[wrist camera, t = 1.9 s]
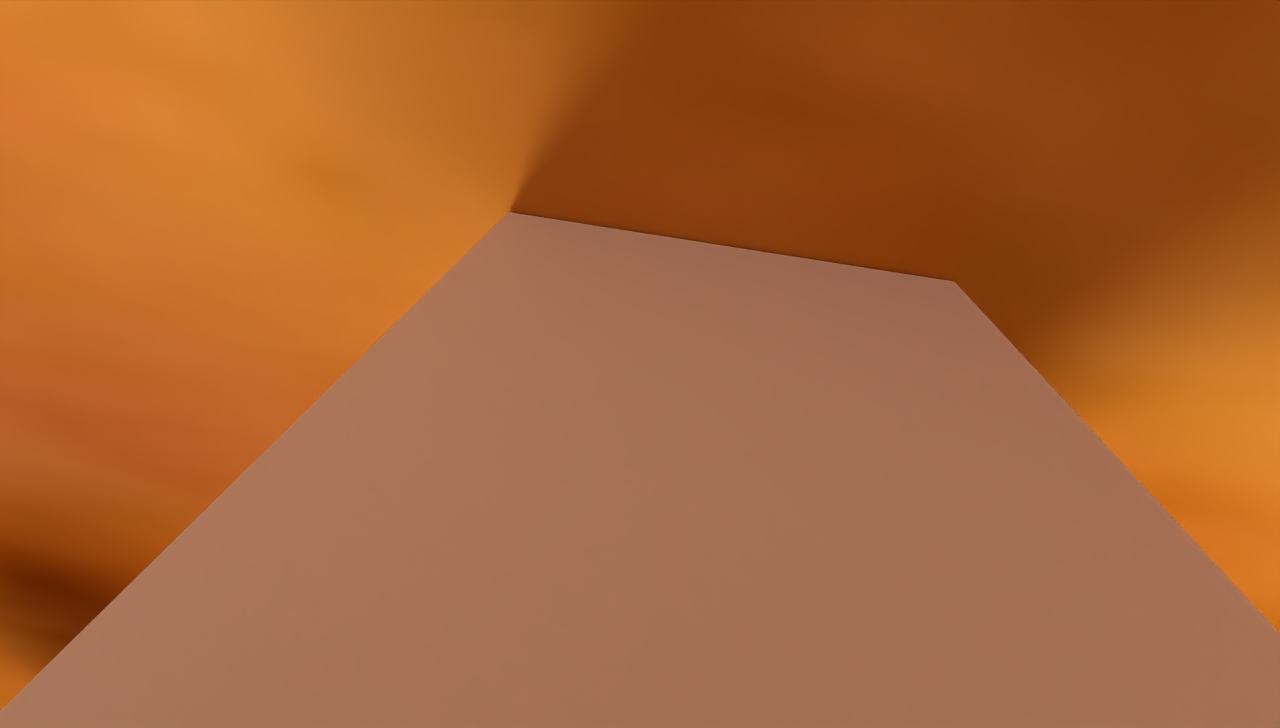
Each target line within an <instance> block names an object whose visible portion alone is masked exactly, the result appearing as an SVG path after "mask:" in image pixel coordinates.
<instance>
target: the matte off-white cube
mask: <svg viewBox="0 0 1280 728" xmlns="http://www.w3.org/2000/svg"><path fill="white" fill-rule="evenodd" d="M0 728H1280V633H1279V632H1278V631H1277V630H1276V629H1275V628H1274V627H1273V626H1272V625H1271V623H1270V622H1269V621H1268V620H1267V619H1266V618H1265V617H1264V616H1263V615H1262V614H1261V613H1260V612H1259V610H1258V609H1257V608H1256V607H1255V606H1254V605H1253V604H1252V603H1251V602H1250V601H1249V600H1248V599H1247V597H1246V596H1245V595H1244V594H1243V593H1242V592H1241V591H1240V590H1239V589H1238V588H1237V587H1236V586H1235V585H1234V583H1233V582H1232V581H1231V580H1230V579H1229V578H1228V577H1227V576H1226V575H1225V574H1224V573H1223V572H1222V570H1221V569H1220V568H1219V567H1218V566H1217V565H1216V564H1215V563H1214V562H1213V561H1212V560H1211V559H1210V557H1209V556H1208V555H1207V554H1206V553H1205V552H1204V551H1203V550H1202V549H1201V548H1200V547H1199V546H1198V544H1197V543H1196V542H1195V541H1194V540H1193V539H1192V538H1191V537H1190V536H1189V535H1188V534H1187V533H1186V531H1185V530H1184V529H1183V528H1182V527H1181V526H1180V525H1179V524H1178V523H1177V522H1176V521H1175V520H1174V518H1173V517H1172V516H1171V515H1170V514H1169V513H1168V512H1167V511H1166V510H1165V509H1164V508H1163V507H1162V506H1161V504H1160V503H1159V502H1158V501H1157V500H1156V499H1155V498H1154V497H1153V496H1152V495H1151V494H1150V493H1149V491H1148V490H1147V489H1146V488H1145V487H1144V486H1143V485H1142V484H1141V483H1140V482H1139V481H1138V480H1137V478H1136V477H1135V476H1134V475H1133V474H1132V473H1131V472H1130V471H1129V470H1128V469H1127V468H1126V467H1125V465H1124V464H1123V463H1122V462H1121V461H1120V460H1119V459H1118V458H1117V457H1116V456H1115V455H1114V454H1113V452H1112V451H1111V450H1110V449H1109V448H1108V447H1107V446H1106V445H1105V444H1104V443H1103V442H1102V441H1101V439H1100V438H1099V437H1098V436H1097V435H1096V434H1095V433H1094V432H1093V431H1092V430H1091V429H1090V428H1089V426H1088V425H1087V424H1086V423H1085V422H1084V421H1083V420H1082V419H1081V418H1080V417H1079V416H1078V415H1077V414H1076V412H1075V411H1074V410H1073V409H1072V408H1071V407H1070V406H1069V405H1068V404H1067V403H1066V402H1065V401H1064V399H1063V398H1062V397H1061V396H1060V395H1059V394H1058V393H1057V392H1056V391H1055V390H1054V389H1053V388H1052V386H1051V385H1050V384H1049V383H1048V382H1047V381H1046V380H1045V379H1044V378H1043V377H1042V376H1041V375H1040V373H1039V372H1038V371H1037V370H1036V369H1035V368H1034V367H1033V366H1032V365H1031V364H1030V363H1029V362H1028V360H1027V359H1026V358H1025V357H1024V356H1023V355H1022V354H1021V353H1020V352H1019V351H1018V350H1017V349H1016V347H1015V346H1014V345H1013V344H1012V343H1011V342H1010V341H1009V340H1008V339H1007V338H1006V337H1005V336H1004V335H1003V333H1002V332H1001V331H1000V330H999V329H998V328H997V327H996V326H995V325H994V324H993V323H992V322H991V320H990V319H989V318H988V317H987V316H986V315H985V314H984V313H983V312H982V311H981V310H980V309H979V307H978V306H977V305H976V304H975V303H974V302H973V301H972V300H971V299H970V298H969V297H968V296H967V294H966V293H965V292H964V291H963V290H962V289H961V288H960V287H959V286H958V285H957V284H956V283H955V282H954V281H948V280H941V279H935V278H928V277H922V276H916V275H909V274H903V273H896V272H890V271H883V270H877V269H871V268H864V267H858V266H851V265H845V264H839V263H832V262H826V261H819V260H813V259H807V258H800V257H794V256H787V255H781V254H774V253H768V252H762V251H755V250H749V249H742V248H736V247H730V246H723V245H717V244H710V243H704V242H697V241H691V240H685V239H678V238H672V237H665V236H659V235H653V234H646V233H640V232H633V231H627V230H620V229H614V228H608V227H601V226H595V225H588V224H582V223H576V222H569V221H563V220H556V219H550V218H544V217H537V216H531V215H524V214H518V213H511V212H508V213H507V214H506V215H505V216H504V217H503V218H502V219H501V220H500V221H499V222H498V223H497V224H496V225H495V226H494V227H493V228H492V229H491V230H490V231H489V232H488V233H487V234H486V235H485V236H484V237H483V238H482V239H481V240H479V241H478V242H477V243H476V244H475V245H474V246H473V247H472V248H471V249H470V250H469V251H468V252H467V253H466V254H465V255H464V256H463V257H462V258H461V259H460V260H459V261H458V262H457V263H456V264H455V265H454V266H453V267H452V268H451V269H450V270H449V271H448V272H447V273H446V274H445V275H444V276H443V277H442V278H441V279H440V280H439V281H438V282H437V283H436V284H435V285H434V286H433V287H432V288H431V289H430V290H429V291H428V292H427V293H425V294H424V295H423V296H422V297H421V298H420V299H419V300H418V301H417V302H416V303H415V304H414V305H413V306H412V307H411V308H410V309H409V310H408V311H407V312H406V313H405V314H404V315H403V316H402V317H401V318H400V319H399V320H398V321H397V322H396V323H395V324H394V325H393V326H392V327H391V328H390V329H389V330H388V331H387V332H386V333H385V334H384V335H383V336H382V337H381V338H380V339H379V340H378V341H377V342H376V343H375V344H374V345H373V346H371V347H370V348H369V349H368V350H367V351H366V352H365V353H364V354H363V355H362V356H361V357H360V358H359V359H358V360H357V361H356V362H355V363H354V364H353V365H352V366H351V367H350V368H349V369H348V370H347V371H346V372H345V373H344V374H343V375H342V376H341V377H340V378H339V379H338V380H337V381H336V382H335V383H334V384H333V385H332V386H331V387H330V388H329V389H328V390H327V391H326V392H325V393H324V394H323V395H322V396H321V397H320V398H319V399H317V400H316V401H315V402H314V403H313V404H312V405H311V406H310V407H309V408H308V409H307V410H306V411H305V412H304V413H303V414H302V415H301V416H300V417H299V418H298V419H297V420H296V421H295V422H294V423H293V424H292V425H291V426H290V427H289V428H288V429H287V430H286V431H285V432H284V433H283V434H282V435H281V436H280V437H279V438H278V439H277V440H276V441H275V442H274V443H273V444H272V445H271V446H270V447H269V448H268V449H267V450H266V451H265V452H263V453H262V454H261V455H260V456H259V457H258V458H257V459H256V460H255V461H254V462H253V463H252V464H251V465H250V466H249V467H248V468H247V469H246V470H245V471H244V472H243V473H242V474H241V475H240V476H239V477H238V478H237V479H236V480H235V481H234V482H233V483H232V484H231V485H230V486H229V487H228V488H227V489H226V490H225V491H224V492H223V493H222V494H221V495H220V496H219V497H218V498H217V499H216V500H215V501H214V502H213V503H212V504H211V505H209V506H208V507H207V508H206V509H205V510H204V511H203V512H202V513H201V514H200V515H199V516H198V517H197V518H196V519H195V520H194V521H193V522H192V523H191V524H190V525H189V526H188V527H187V528H186V529H185V530H184V531H183V532H182V533H181V534H180V535H179V536H178V537H177V538H176V539H175V540H174V541H173V542H172V543H171V544H170V545H169V546H168V547H167V548H166V549H165V550H164V551H163V552H162V553H161V554H160V555H159V556H158V557H157V558H155V559H154V560H153V561H152V562H151V563H150V564H149V565H148V566H147V567H146V568H145V569H144V570H143V571H142V572H141V573H140V574H139V575H138V576H137V577H136V578H135V579H134V580H133V581H132V582H131V583H130V584H129V585H128V586H127V587H126V588H125V589H124V590H123V591H122V592H121V593H120V594H119V595H118V596H117V597H116V598H115V599H114V600H113V601H112V602H111V603H110V604H109V605H108V606H107V607H106V608H105V609H104V610H103V611H101V612H100V613H99V614H98V615H97V616H96V617H95V618H94V619H93V620H92V621H91V622H90V623H89V624H88V625H87V626H86V627H85V628H84V629H83V630H82V631H81V632H80V633H79V634H78V635H77V636H76V637H75V638H74V639H73V640H72V641H71V642H70V643H69V644H68V645H67V646H66V647H65V648H64V649H63V650H62V651H61V652H60V653H59V654H58V655H57V656H56V657H55V658H54V659H53V660H52V661H51V662H50V663H48V664H47V665H46V666H45V667H44V668H43V669H42V670H41V671H40V672H39V673H38V674H37V675H36V676H35V677H34V678H33V679H32V680H31V681H30V682H29V683H28V684H27V685H26V686H25V687H24V688H23V689H22V690H21V691H20V692H19V693H18V694H17V695H16V696H15V697H14V698H13V699H12V700H11V701H10V702H9V703H8V704H7V705H6V706H5V707H4V708H3V709H2V710H1V711H0Z"/></svg>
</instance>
